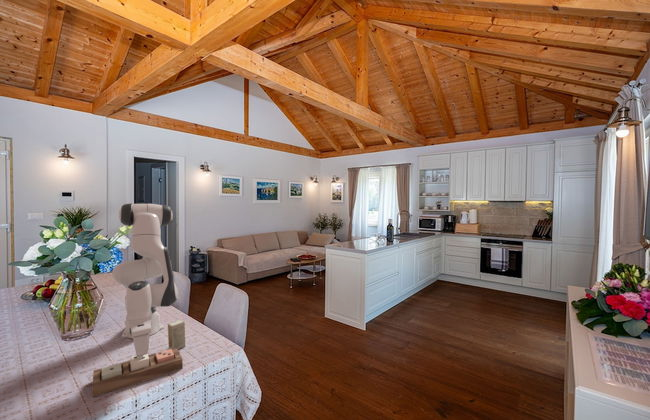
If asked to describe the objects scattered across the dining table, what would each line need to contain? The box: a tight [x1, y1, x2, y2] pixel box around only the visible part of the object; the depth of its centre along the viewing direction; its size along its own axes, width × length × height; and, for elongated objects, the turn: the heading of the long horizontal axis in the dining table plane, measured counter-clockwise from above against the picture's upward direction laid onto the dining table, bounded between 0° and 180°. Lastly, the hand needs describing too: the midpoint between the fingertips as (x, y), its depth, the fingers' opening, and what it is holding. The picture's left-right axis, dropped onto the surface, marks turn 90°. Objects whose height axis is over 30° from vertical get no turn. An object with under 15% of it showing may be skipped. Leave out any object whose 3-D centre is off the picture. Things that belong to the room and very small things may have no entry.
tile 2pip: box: [129, 352, 149, 371], centre depth 116 cm, size 6×6×5 cm
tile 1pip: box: [101, 362, 122, 380], centre depth 110 cm, size 6×6×5 cm
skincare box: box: [167, 319, 186, 350], centre depth 136 cm, size 6×4×12 cm
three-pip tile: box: [155, 348, 174, 364], centre depth 121 cm, size 6×6×5 cm
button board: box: [92, 347, 184, 398], centre depth 116 cm, size 12×29×4 cm, turn 127°
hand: (140, 357), depth 116 cm, fingers closed
